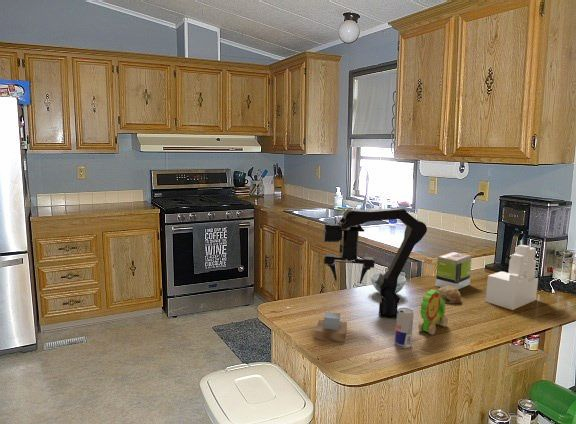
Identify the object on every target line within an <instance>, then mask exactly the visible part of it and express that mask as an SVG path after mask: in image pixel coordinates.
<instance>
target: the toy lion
mask: <svg viewBox="0 0 576 424" xmlns="http://www.w3.org/2000/svg"><path fill="white" fill-rule="evenodd" d="M437 291H438V290H436V289H430V290H429V291H427V292H426V294H425V295H424V296H423V298H422V301H421V304H420V312H419V313H420V315H421V319H422V320H421V321H420V322H419V324H418V328H417V329H418V331H419V332H426V333H428V334H430V335H432V336H434V335H435V333H436V330H437V326H436V325H440V326H441V327H444V328H446V326H447V324H448V320H449V319H448V317H447V316H445V315H446V314H445V312H446V302H444V300H443V299H441V296H440V293H439V292H437Z"/></svg>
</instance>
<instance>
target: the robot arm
mask: <svg viewBox="0 0 576 424" xmlns="http://www.w3.org/2000/svg"><path fill="white" fill-rule="evenodd" d="M388 220H389V221H391V220H400V221H401V223H403V225H404V226H406V227H405V229H404V234H403V240H402V242H401V243H400V246H399V248H398V250H397V252H396V254H395V256H394V258H393V260H392V262H391V264H390V266H389V267H388V270H387V271H386V272H384V273H385V274H384V275H382V274H380V275H379V278H378V280H377V281H376V283H377V284H376V289H377V290H376V289H375V290H376V291H377V292H378V294H379V295H380V297H381V298H380V301H379V306H378V314H379V316H380V318H387V319H388V318H390V319H396V316H397V311H398V309H399V307H398V306H399V304H400V301H401V297H400V296H399V295H398V293H395V291H396V287H397V280H398V277H399V275H401V272H402V271H403V269H404V267H405V265H406V263H407V261H408V259H409V257H410V255H411V253H412V251H413V249H414V248H415V246H416V245H417V244H418V243H420V241H421V240H422V239H423V237H424V236H425V235H426V234H427V232H428V228H427V225H426V223H425V222H423V221H421V220H419V219H418V218H417V219H416V218H415V217H413V215H411V213H409V212H407V210H406V209H404V208H402V207H396V208H394V207H393V208H385V209H384V208H382V209H369V210H367V209H359V208H347V209H345V211H344V213H343V214H342V218H340V220H339V221H338V223H337V224H332V223H331V224H330V223H324V227H323V232H322V241H323V243H339V242H340V241H342V244H340V245H339V251H338V252H339V254H341V256H337V254H335V253H326V254H325V256H324V259H323V264H324V265H327V267H329V268H330V270H331V272H332V275H333V278H334V281H335V282H336V283H337V282H338V273H337V263H347V264H358V265H359V264H361V265H362V267H361V272H360V273H361V274H360V279H359V284H362V282H363V280H364V276H365V275H366V273H367V271H368V270H371V268H373V269H374V268H375V257H374V256H364V257H363V258H358V257H359V256H358V255H359V254H358V253H359V235H360V234H359V232H360V233H361V232H363V233H364V232H365V229H364V228H363V227H362V225H364V224H366V223H369V222H378V221H388Z"/></svg>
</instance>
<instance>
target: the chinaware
mask: <svg viewBox="0 0 576 424" xmlns="http://www.w3.org/2000/svg"><path fill="white" fill-rule="evenodd" d="M385 273H386V272H376V273H372V274H371V276H370V281H371V284H372V286H373V287H374V289H375V290H376V291H377V289H376V284H377V283H376V281H377V280H378V278H379V275H380V274H382V275H384V274H385ZM406 281H407V278H406V277H405V276H403V275H401V274H400V275H399V277H398V280H397V287H396V291H395V293H396V294H398V293H399V292H401V290H403V288H404V286H405V284H406Z"/></svg>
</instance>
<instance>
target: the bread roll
mask: <svg viewBox="0 0 576 424" xmlns="http://www.w3.org/2000/svg"><path fill="white" fill-rule="evenodd" d="M436 291H437V292H439V293H440V296H441V299H443V300H444V302H445V304H446V303H447V304H458V303H460V302H461V293H460V291H459V289H458V290H457V289H456V288H454V287H453V286H445V287H438V289H437V290H436Z"/></svg>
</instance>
